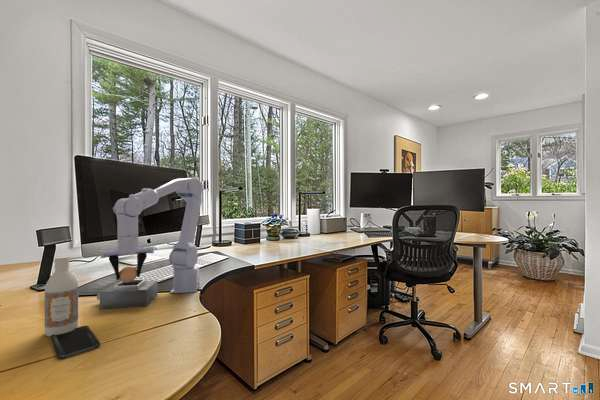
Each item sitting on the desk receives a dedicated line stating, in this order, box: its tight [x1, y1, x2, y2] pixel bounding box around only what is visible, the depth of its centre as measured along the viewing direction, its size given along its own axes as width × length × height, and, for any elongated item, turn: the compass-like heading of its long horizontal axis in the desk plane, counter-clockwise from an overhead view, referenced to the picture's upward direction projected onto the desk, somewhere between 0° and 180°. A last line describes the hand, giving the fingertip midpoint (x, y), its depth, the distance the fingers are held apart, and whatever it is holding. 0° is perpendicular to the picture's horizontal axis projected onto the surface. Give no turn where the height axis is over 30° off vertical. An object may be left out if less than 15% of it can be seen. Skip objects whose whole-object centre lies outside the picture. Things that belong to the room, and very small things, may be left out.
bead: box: [119, 266, 138, 282], centre depth 91 cm, size 5×5×5 cm
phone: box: [50, 325, 101, 360], centre depth 70 cm, size 8×1×15 cm
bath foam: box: [44, 255, 79, 338], centre depth 76 cm, size 7×7×20 cm
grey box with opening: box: [96, 278, 158, 310], centre depth 98 cm, size 17×11×7 cm, turn 100°
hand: (128, 277), depth 91 cm, fingers closed on bead, 5 cm apart
